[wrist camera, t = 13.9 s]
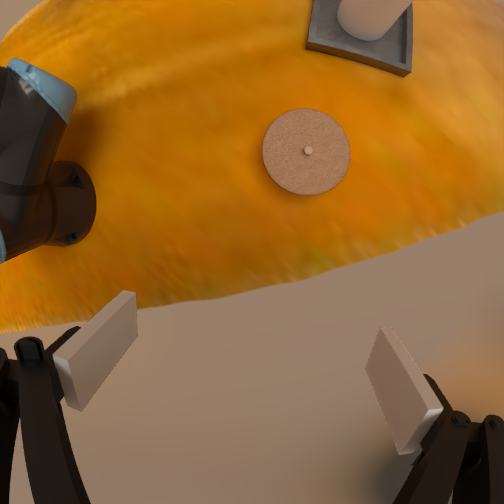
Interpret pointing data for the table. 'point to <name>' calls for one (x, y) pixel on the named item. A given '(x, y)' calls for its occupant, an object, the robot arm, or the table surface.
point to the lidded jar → (306, 152)
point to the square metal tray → (367, 52)
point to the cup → (369, 17)
